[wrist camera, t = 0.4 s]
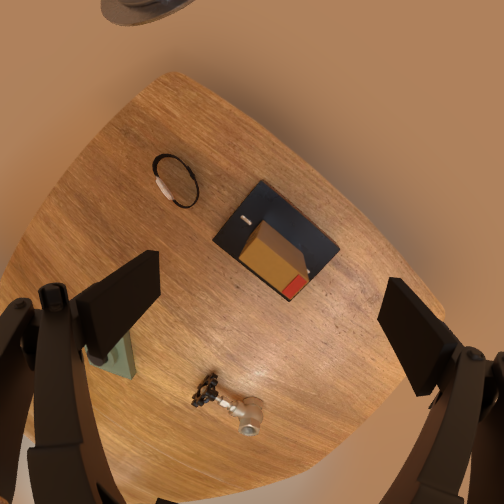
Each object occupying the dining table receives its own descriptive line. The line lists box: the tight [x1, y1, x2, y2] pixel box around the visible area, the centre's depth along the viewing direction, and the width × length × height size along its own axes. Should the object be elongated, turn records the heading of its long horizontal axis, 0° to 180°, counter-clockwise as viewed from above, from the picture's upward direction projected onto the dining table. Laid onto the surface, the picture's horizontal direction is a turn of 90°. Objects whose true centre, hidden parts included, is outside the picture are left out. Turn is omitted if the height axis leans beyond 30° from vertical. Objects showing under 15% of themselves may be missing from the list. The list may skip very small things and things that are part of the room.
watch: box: [152, 154, 199, 208], centre depth 31 cm, size 8×5×4 cm, turn 35°
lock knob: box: [239, 220, 309, 300], centre depth 27 cm, size 6×2×8 cm, turn 50°
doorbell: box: [84, 330, 136, 380], centre depth 41 cm, size 12×10×4 cm
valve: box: [191, 373, 263, 436], centre depth 39 cm, size 7×7×12 cm
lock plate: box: [212, 180, 340, 302], centre depth 32 cm, size 12×9×3 cm
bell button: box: [87, 351, 108, 366], centre depth 38 cm, size 4×4×2 cm
